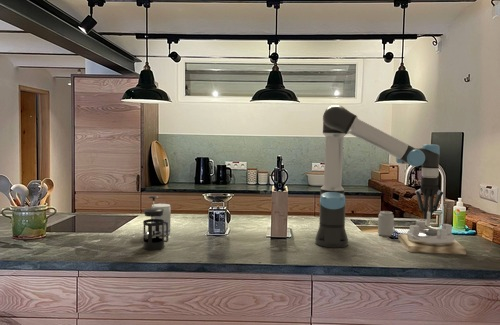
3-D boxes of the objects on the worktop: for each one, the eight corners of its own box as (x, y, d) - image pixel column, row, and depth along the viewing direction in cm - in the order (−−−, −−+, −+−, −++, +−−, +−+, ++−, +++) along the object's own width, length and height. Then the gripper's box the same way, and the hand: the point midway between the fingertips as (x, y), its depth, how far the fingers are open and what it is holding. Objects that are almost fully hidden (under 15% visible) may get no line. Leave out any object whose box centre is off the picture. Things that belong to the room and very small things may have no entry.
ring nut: (442, 248, 184) (442, 232, 183) (399, 239, 199) (399, 224, 198) (461, 241, 197) (462, 226, 197) (419, 232, 212) (420, 218, 211)
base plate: (408, 251, 189) (408, 245, 189) (398, 238, 211) (398, 233, 210) (465, 254, 186) (466, 248, 185) (449, 241, 207) (450, 235, 207)
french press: (138, 249, 186) (137, 197, 185) (146, 244, 196) (146, 194, 194) (163, 251, 185) (163, 198, 183) (171, 245, 194) (171, 195, 192)
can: (394, 237, 214) (394, 213, 213) (378, 236, 215) (379, 212, 214) (392, 233, 221) (393, 210, 220) (377, 232, 223) (377, 210, 222)
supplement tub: (152, 237, 208) (152, 207, 207) (149, 232, 217) (149, 204, 216) (172, 235, 212) (172, 206, 211) (168, 231, 221) (168, 202, 220)
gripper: (440, 176, 207) (438, 224, 209) (413, 175, 208) (411, 223, 210) (446, 177, 200) (444, 227, 202) (418, 177, 201) (416, 226, 202)
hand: (427, 225), depth 206 cm, fingers closed
